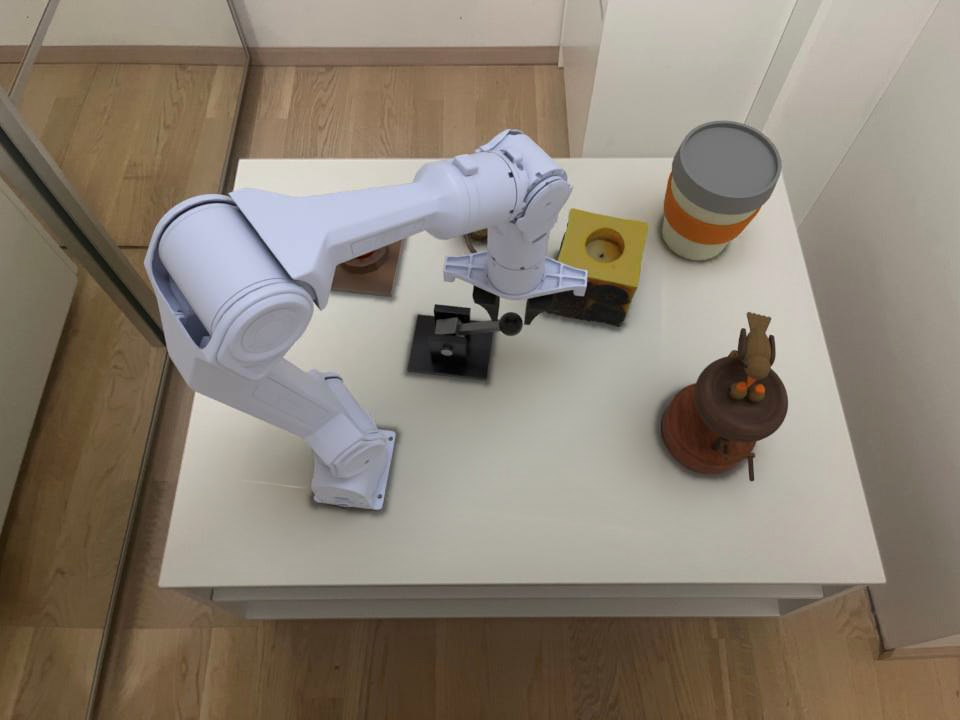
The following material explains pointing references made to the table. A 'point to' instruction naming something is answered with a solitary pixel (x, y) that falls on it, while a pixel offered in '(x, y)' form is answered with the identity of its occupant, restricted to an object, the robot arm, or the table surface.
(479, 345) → the bracket
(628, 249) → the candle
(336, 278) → the button block
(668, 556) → the table surface
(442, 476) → the table surface
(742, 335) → the music box
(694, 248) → the reusable coffee cup
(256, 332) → the robot arm
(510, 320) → the lever
